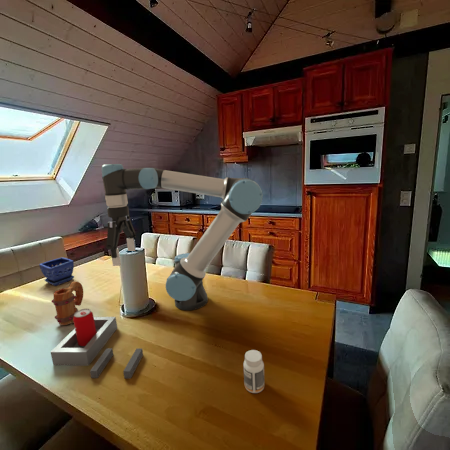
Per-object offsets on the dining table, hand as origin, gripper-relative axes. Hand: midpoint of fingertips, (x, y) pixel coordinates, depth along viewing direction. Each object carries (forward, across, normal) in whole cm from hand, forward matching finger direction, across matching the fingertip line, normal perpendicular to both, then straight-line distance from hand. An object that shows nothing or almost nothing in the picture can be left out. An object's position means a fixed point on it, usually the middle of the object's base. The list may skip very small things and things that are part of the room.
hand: (124, 259), depth 104 cm
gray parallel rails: (+27, +26, +6) cm, 38 cm away
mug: (+27, -1, -27) cm, 38 cm away
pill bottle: (+27, +33, +49) cm, 65 cm away
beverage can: (+26, +16, -10) cm, 32 cm away
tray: (+27, +16, -10) cm, 33 cm away
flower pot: (+27, -39, -60) cm, 76 cm away
